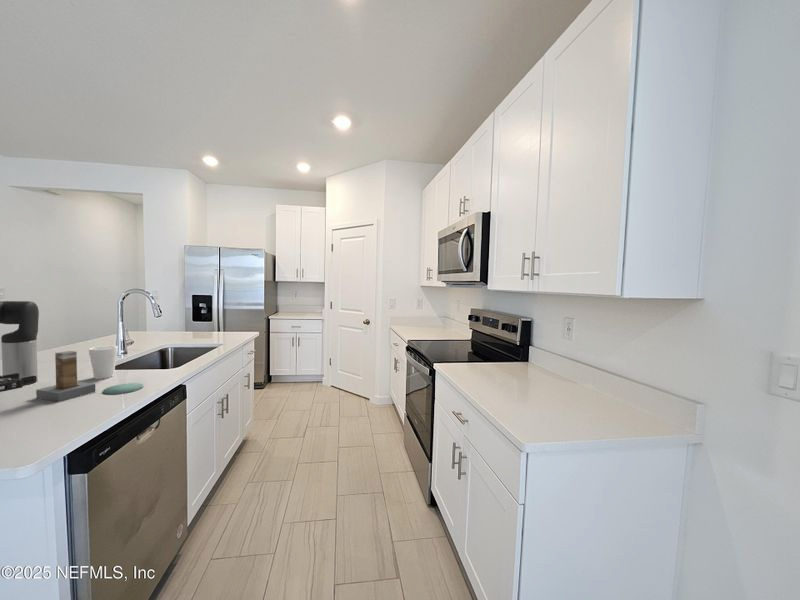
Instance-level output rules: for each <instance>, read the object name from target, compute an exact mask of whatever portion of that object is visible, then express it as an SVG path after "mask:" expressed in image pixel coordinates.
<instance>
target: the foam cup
mask: <svg viewBox="0 0 800 600" xmlns="http://www.w3.org/2000/svg"><path fill="white" fill-rule="evenodd" d="M118 348H119V347H118V345H101V346H93V347H89V348H88V355H89V357H90V362H91V363H90V364H91V368H92V373H93V378H95V379H94V380H103V379H102V378H105V379H109V378H108V377H110V378H112V377H111V376H113V375H114V374H115V369H116V362H117V355H118V352H119V349H118ZM113 377H114V376H113Z"/></svg>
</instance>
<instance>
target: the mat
mask: <svg viewBox="0 0 800 600" xmlns="http://www.w3.org/2000/svg"><path fill="white" fill-rule="evenodd" d="M142 387H143V388H144V384H143V383H139V382H129V383H128V382H127V383H121V384H115V385H111V386H109V387H106V388H104V389H103V391H102V392H103V394H104V393H106V394H105V395H120V394H119V393H123V394H128V392H129V393H133V392H136V390H137V391H140V390H141V389H143V388H142ZM132 391H133V392H132Z"/></svg>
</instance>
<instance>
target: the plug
mask: <svg viewBox="0 0 800 600" xmlns="http://www.w3.org/2000/svg"><path fill="white" fill-rule="evenodd" d="M77 355H78V354H77V351H76V350H75V351H73V350H64V351H59V352H55V359H54V360H55V362H54V363H55V385H56V389H62V390H64V389H68V388H72V387H76V386H77V381H78V364H77V363H78V362H77V361H78V360H77V358H78V357H77Z"/></svg>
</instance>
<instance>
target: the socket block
mask: <svg viewBox="0 0 800 600" xmlns="http://www.w3.org/2000/svg"><path fill="white" fill-rule="evenodd" d="M95 391H96V383H90V382H84V381H78V380H77V386H76V387H72V388H68V389H64V390H62V389H56V384H55V385H51V386H47V387H42V388H39V389H36V391H35V393H36V394H35V396H36V399H39V398H41V399H40V400H45V399H46V400H47V401H52V402H59V401H60V402H62V401H66V400H71V399H73V398H78V397H81V396H85V395H89V394H92V393H96V392H95ZM91 392H92V393H91ZM88 393H89V394H88ZM84 394H85V395H84ZM80 395H81V396H80ZM77 396H78V397H77ZM60 402H59V403H60Z"/></svg>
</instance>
